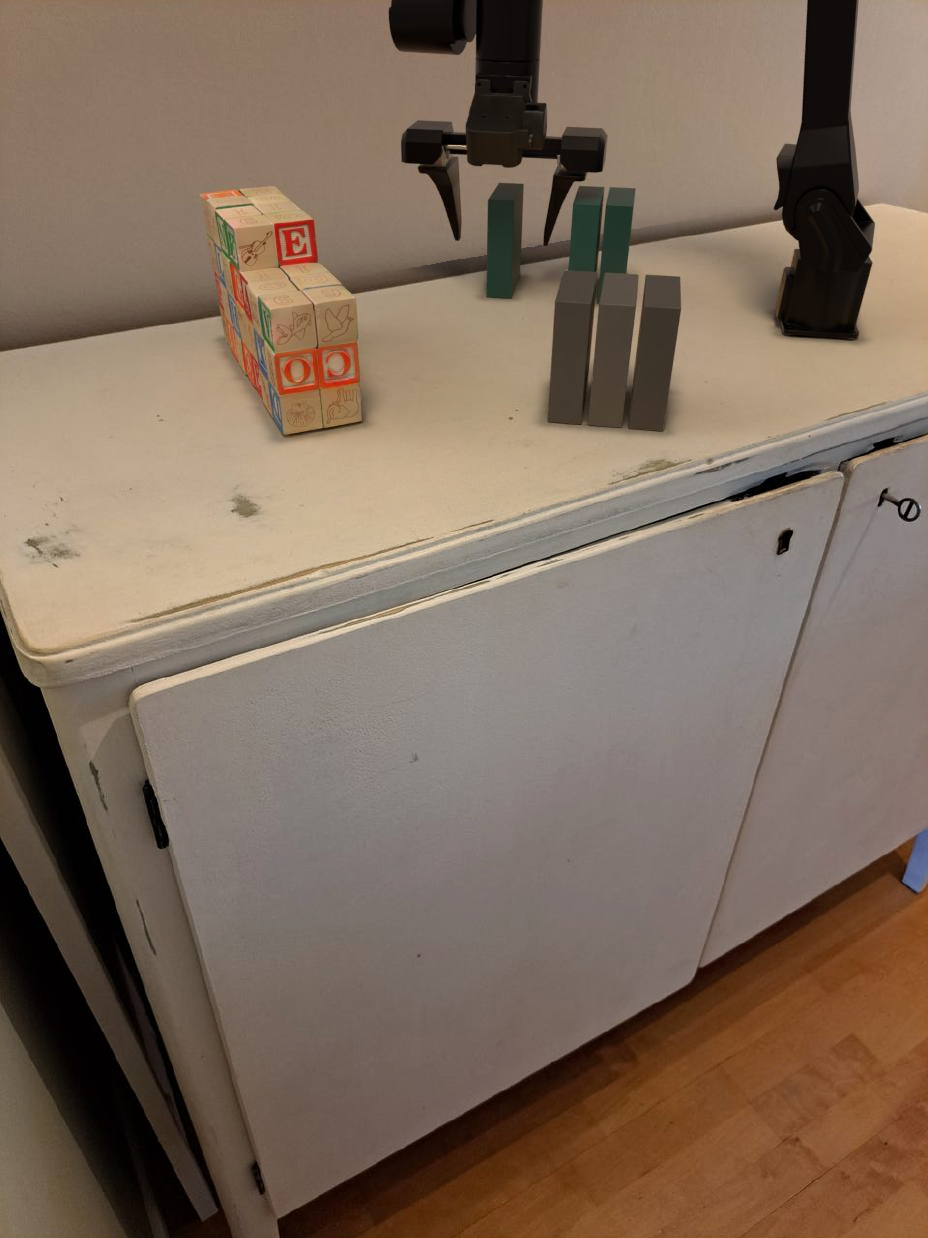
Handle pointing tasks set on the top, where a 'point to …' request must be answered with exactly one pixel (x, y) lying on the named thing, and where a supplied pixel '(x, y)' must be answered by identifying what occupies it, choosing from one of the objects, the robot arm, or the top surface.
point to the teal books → (589, 230)
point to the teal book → (504, 239)
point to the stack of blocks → (283, 309)
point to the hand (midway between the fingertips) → (501, 242)
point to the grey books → (613, 349)
